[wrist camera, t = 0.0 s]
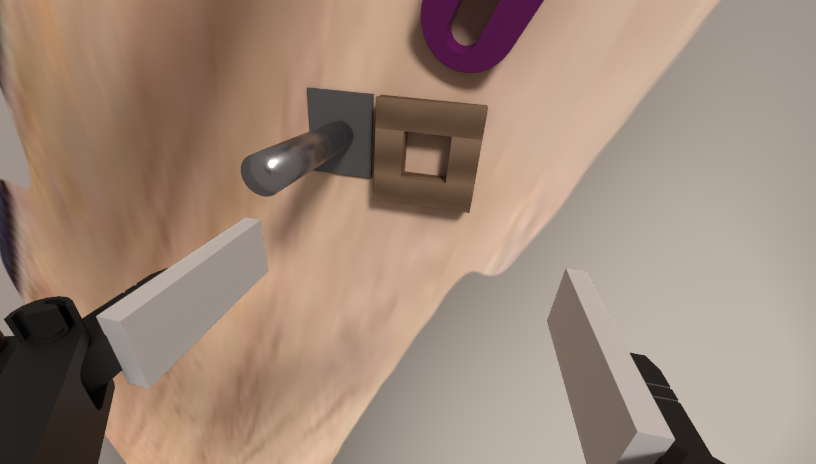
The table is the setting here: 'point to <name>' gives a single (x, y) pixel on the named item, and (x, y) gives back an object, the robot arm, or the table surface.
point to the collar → (437, 120)
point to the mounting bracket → (492, 44)
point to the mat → (357, 115)
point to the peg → (294, 158)
